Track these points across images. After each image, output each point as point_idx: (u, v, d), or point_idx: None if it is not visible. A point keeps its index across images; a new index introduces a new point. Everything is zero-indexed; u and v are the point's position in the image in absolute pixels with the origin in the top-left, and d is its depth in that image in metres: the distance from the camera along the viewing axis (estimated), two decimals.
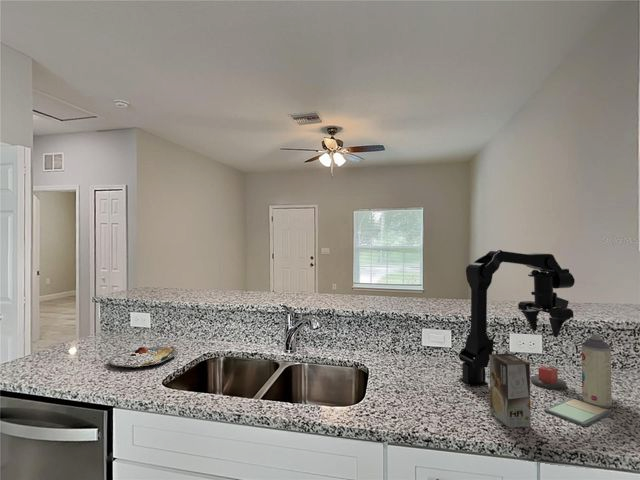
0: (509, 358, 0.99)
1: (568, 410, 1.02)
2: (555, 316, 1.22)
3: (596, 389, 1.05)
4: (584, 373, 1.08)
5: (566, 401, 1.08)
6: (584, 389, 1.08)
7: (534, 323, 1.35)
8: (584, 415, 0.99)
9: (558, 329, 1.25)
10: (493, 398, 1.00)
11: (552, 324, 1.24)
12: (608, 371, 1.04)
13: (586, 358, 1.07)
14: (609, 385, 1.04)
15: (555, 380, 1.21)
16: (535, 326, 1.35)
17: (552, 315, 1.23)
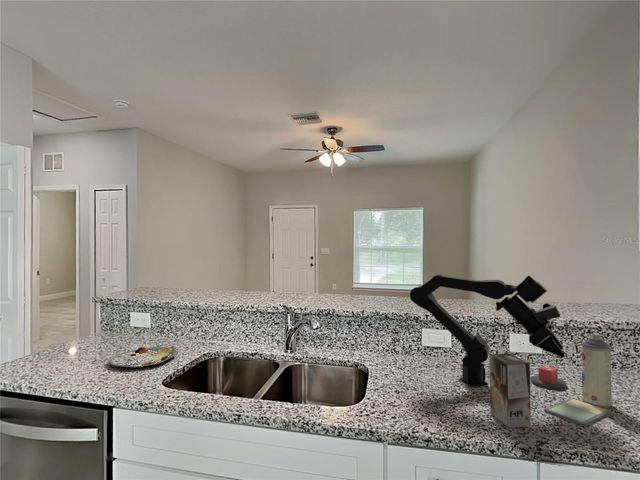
0: (509, 358, 0.99)
1: (568, 410, 1.02)
2: None
3: (596, 389, 1.05)
4: (584, 373, 1.08)
5: (566, 401, 1.08)
6: (584, 389, 1.08)
7: (554, 342, 1.17)
8: (584, 415, 0.99)
9: (556, 349, 1.08)
10: (494, 398, 1.00)
11: None
12: (608, 371, 1.04)
13: (586, 358, 1.07)
14: (609, 385, 1.04)
15: (555, 380, 1.21)
16: (558, 344, 1.16)
17: None
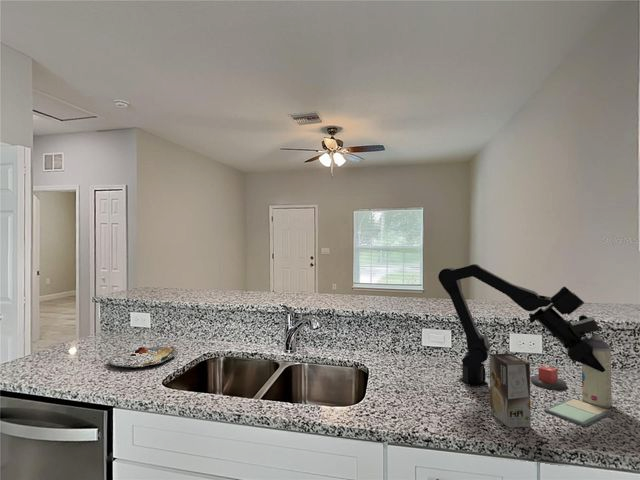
0: (509, 358, 0.99)
1: (568, 410, 1.02)
2: None
3: (596, 389, 1.05)
4: (584, 373, 1.08)
5: (566, 401, 1.08)
6: (584, 389, 1.08)
7: None
8: (584, 415, 0.99)
9: (596, 363, 1.04)
10: (494, 398, 1.00)
11: None
12: (608, 371, 1.04)
13: None
14: (609, 385, 1.04)
15: (555, 380, 1.21)
16: None
17: None
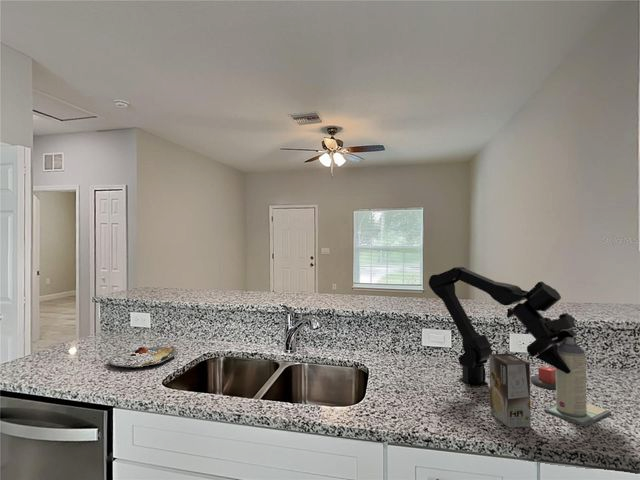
0: (509, 358, 0.99)
1: None
2: None
3: (563, 395, 0.99)
4: None
5: None
6: (556, 394, 1.02)
7: None
8: None
9: (559, 363, 0.98)
10: (494, 398, 1.00)
11: None
12: (577, 378, 0.98)
13: None
14: (579, 393, 0.98)
15: (555, 380, 1.21)
16: None
17: None
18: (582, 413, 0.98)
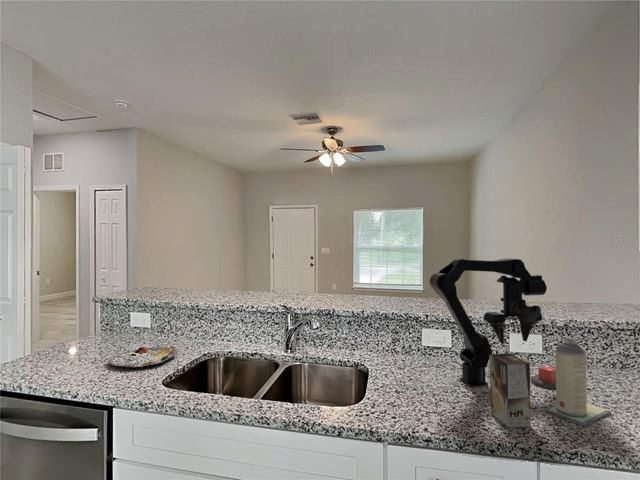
0: (509, 358, 0.99)
1: None
2: None
3: (563, 395, 0.99)
4: (556, 377, 1.02)
5: None
6: (556, 394, 1.02)
7: (524, 333, 1.27)
8: None
9: (499, 335, 1.24)
10: (494, 398, 1.00)
11: None
12: (577, 378, 0.98)
13: (556, 361, 1.02)
14: (579, 393, 0.98)
15: (555, 380, 1.21)
16: (524, 336, 1.27)
17: None
18: (582, 413, 0.98)
